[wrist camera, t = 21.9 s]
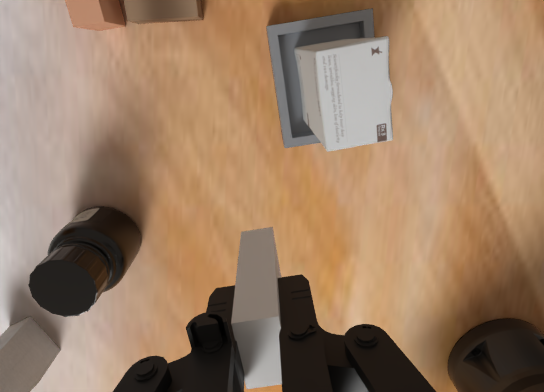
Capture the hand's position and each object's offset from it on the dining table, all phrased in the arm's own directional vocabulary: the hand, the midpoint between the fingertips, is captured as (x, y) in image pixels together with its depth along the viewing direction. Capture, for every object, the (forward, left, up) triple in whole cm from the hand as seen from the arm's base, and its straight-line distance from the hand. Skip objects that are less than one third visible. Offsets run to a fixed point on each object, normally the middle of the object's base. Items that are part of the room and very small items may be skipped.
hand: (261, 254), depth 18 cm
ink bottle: (+22, +10, -30) cm, 38 cm away
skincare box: (-8, -5, -29) cm, 31 cm away
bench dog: (+14, -17, -29) cm, 37 cm away
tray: (-8, -5, -29) cm, 31 cm away
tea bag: (+37, +24, -30) cm, 53 cm away
